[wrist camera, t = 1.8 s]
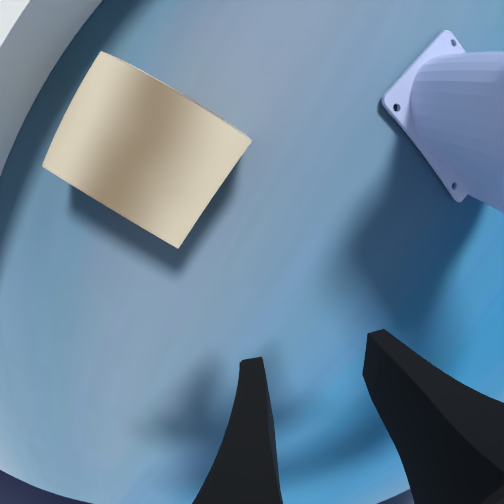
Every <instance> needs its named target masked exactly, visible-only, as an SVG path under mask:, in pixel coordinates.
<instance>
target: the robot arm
mask: <svg viewBox="0 0 504 504" xmlns="http://www.w3.org/2000/svg"><path fill="white" fill-rule="evenodd" d="M451 41H452V43H453V46H452V44H451ZM381 101H382V105H383V106H384V108H385V109H386V110H387V111H388V112H389V113H390V115H391V116H392V117H393V118H394V119H395V120H396V122H397V123H398V124H399V125H400V126H401V128H402V129H403V130H404V131H405V133H406V134H407V135H408V136H409V138H410V139H411V140H412V141H413V143H414V144H415V145H416V147H417V148H418V149H419V150H420V152H421V153H422V154H423V156H424V157H425V158H426V160H427V161H428V163H429V164H430V165H431V167H432V168H433V169H434V171H435V172H436V174H437V175H438V177H439V178H440V179H441V181H442V182H443V184H444V185H445V187H446V188H447V190H448V191H449V193H450V194H451V196H452V198H453V199H454V200H455V201H457V202H461V201H463V199H464V198H465V197H466V196H467V194H468V195H470V196H472V197H474V198H476V199H478V200H480V201H482V202H484V203H486V204H487V205H489V206H491V207H493V208H495V209H497V210H498V211H500V212H502V213H504V51H499V52H473V53H466V52H465V51H464V49H463V48H462V46H461V45H460V44H459V42H458V41H457V39H456V38H455V37H454V35H453V34H452V33H451V32H450V31H448V30H444V31H441V33H440V34H439V35H438V36H437V37H436V38H435V39H434V40H433V41H432V42H431V43H430V45H429V46H428V47H427V48H426V49H425V50H424V51H423V52H422V53H421V54H420V55H419V57H418V58H417V59H416V60H415V61H414V62H413V63H412V64H411V65H410V66H409V68H408V69H407V70H406V71H405V72H404V73H403V74H402V75H401V76H400V77H399V78H398V80H397V81H396V82H395V83H394V84H393V85H392V86H391V87H390V88H389V90H388V91H387V92H386V93H385V94H384V95H383V97H382V100H381ZM394 104H396V105H397V110H396V111H394V109H393V106H394ZM453 183H454V186H453V187H452V184H453ZM362 375H363V377H364V380H365V383H366V386H367V389H368V391H369V394H370V397H371V399H372V401H373V403H374V405H375V407H376V409H377V411H378V413H379V415H380V417H381V419H382V421H383V423H384V425H385V427H386V429H387V431H388V433H389V435H390V437H391V439H392V440H393V442H394V444H395V446H396V449H397V451H398V453H399V455H400V458H401V461H402V464H403V467H404V470H405V472H406V475H407V479H408V482H409V485H410V488H411V492H412V495H413V499H414V503H415V504H504V403H503V402H500V401H498V400H495V399H493V398H490V397H488V396H486V395H484V394H482V393H480V392H478V391H476V390H474V389H472V388H470V387H468V386H466V385H464V384H462V383H461V382H459V381H457V380H455V379H454V378H452V377H451V376H449V375H447V374H446V373H444V372H443V371H441V370H440V369H438V368H437V367H435V366H434V365H432V364H431V363H429V362H428V361H427V360H425V359H424V358H422V357H421V356H420V355H418V354H417V353H415V352H414V351H413V350H411V349H410V348H409V347H407V346H406V345H405V344H403V343H402V342H401V341H399V340H398V339H397V338H396V337H394V336H393V335H392V334H390V333H389V332H388V331H386V330H385V329H382V330H378V331H375V332H371V333H368V335H367V344H366V352H365V360H364V367H363V374H362ZM192 504H283V501H282V496H281V491H280V484H279V475H278V463H277V452H276V441H275V430H274V421H273V415H272V409H271V403H270V397H269V391H268V385H267V379H266V374H265V369H264V364H263V359H262V357H257V358H251V359H246V360H242V361H241V362H240V371H239V380H238V386H237V391H236V396H235V401H234V405H233V409H232V412H231V416H230V420H229V423H228V426H227V429H226V432H225V435H224V438H223V441H222V444H221V446H220V449H219V451H218V454H217V456H216V458H215V461H214V463H213V465H212V467H211V470H210V472H209V474H208V476H207V478H206V480H205V482H204V484H203V485H202V487H201V489H200V491H199V493H198V495H197V496H196V498H195V500H194V501H193V503H192Z"/></svg>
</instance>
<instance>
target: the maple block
mask: <svg viewBox="0 0 504 504" xmlns="http://www.w3.org/2000/svg"><path fill="white" fill-rule="evenodd" d="M251 142H252V140H251V139H250V138H249V137H248V136H247V135H246V134H245V133H243V132H242V131H240V130H239V129H237V128H236V127H234V126H233V125H231V124H230V123H228V122H227V121H225V120H224V119H222V118H220V117H219V116H217V115H216V114H214V113H213V112H211V111H210V110H208V109H206V108H205V107H203V106H202V105H200V104H198V103H197V102H195V101H193V100H192V99H190V98H189V97H187V96H185V95H184V94H182V93H180V92H179V91H177V90H175V89H173V88H172V87H170V86H168V85H167V84H165V83H163V82H161V81H160V80H158V79H156V78H154V77H153V76H151V75H149V74H147V73H146V72H144V71H142V70H140V69H138V68H136V67H135V66H133V65H131V64H129V63H127V62H125V61H123V60H121V59H119V58H116V57H114V56H112V55H109V54H107V53H105V52H102V51H101V52H100V53H99V55H98V56H97V58H96V59H95V61H94V63H93V64H92V66H91V68H90V69H89V71H88V73H87V74H86V76H85V78H84V80H83V81H82V83H81V85H80V87H79V88H78V90H77V92H76V94H75V96H74V98H73V99H72V101H71V103H70V105H69V107H68V109H67V111H66V113H65V115H64V117H63V119H62V121H61V123H60V125H59V128H58V130H57V132H56V134H55V136H54V138H53V141H52V143H51V145H50V148H49V150H48V152H47V155H46V157H45V160H44V162H43V165H42V166H43V167H44V168H46V169H47V170H49V171H50V172H52V173H54V174H55V175H57V176H58V177H60V178H61V179H63V180H65V181H66V182H68V183H69V184H71V185H73V186H74V187H76V188H77V189H79V190H81V191H82V192H84V193H86V194H87V195H89V196H90V197H92V198H94V199H95V200H97V201H99V202H100V203H102V204H104V205H105V206H107V207H108V208H110V209H112V210H113V211H115V212H117V213H118V214H120V215H122V216H123V217H125V218H127V219H128V220H130V221H132V222H133V223H135V224H137V225H138V226H140V227H142V228H144V229H145V230H147V231H149V232H150V233H152V234H154V235H155V236H157V237H159V238H161V239H162V240H164V241H166V242H167V243H169V244H171V245H173V246H174V247H176V248H178V249H179V247H180V245H181V244H182V242H183V241H184V239H185V238H186V236H187V235H188V233H189V232H190V230H191V229H192V227H193V226H194V224H195V222H196V221H197V219H198V218H199V216H200V215H201V213H202V212H203V211H204V209H205V208H206V206H207V205H208V203H209V202H210V200H211V199H212V197H213V196H214V194H215V193H216V191H217V190H218V188H219V187H220V186H221V184H222V183H223V181H224V180H225V178H226V177H227V176H228V174H229V173H230V171H231V170H232V168H233V167H234V166H235V164H236V163H237V161H238V160H239V159H240V157H241V156H242V154H243V153H244V152H245V150H246V149H247V147H248V146H249V145H250V143H251Z"/></svg>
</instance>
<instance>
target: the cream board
mask: <svg viewBox="0 0 504 504" xmlns="http://www.w3.org/2000/svg"><path fill="white" fill-rule="evenodd" d="M102 1H103V0H0V176H1V173H2V171H3V168H4V165H5V163H6V160H7V158H8V155H9V153H10V151H11V148H12V146H13V144H14V141H15V139H16V137H17V135H18V133H19V130H20V128H21V126H22V124H23V122H24V120H25V118H26V116H27V114H28V112H29V110H30V108H31V106H32V104H33V102H34V101H35V99H36V97H37V95H38V93H39V92H40V90H41V88H42V86H43V85H44V83H45V81H46V79H47V78H48V76H49V74H50V73H51V71H52V70H53V68H54V66H55V65H56V63H57V62H58V60H59V59H60V57H61V55H62V54H63V52H64V51H65V49H66V48H67V47H68V45H69V44H70V42H71V41H72V39H73V38H74V37H75V35H76V34H77V32H78V31H79V30H80V28H81V27H82V26H83V24H84V23H85V22H86V21H87V19H88V18H89V17H90V15H91V14H92V13H93V12H94V10H95V9H96V8H97V7H98V6H99V4H100V3H101V2H102Z"/></svg>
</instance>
